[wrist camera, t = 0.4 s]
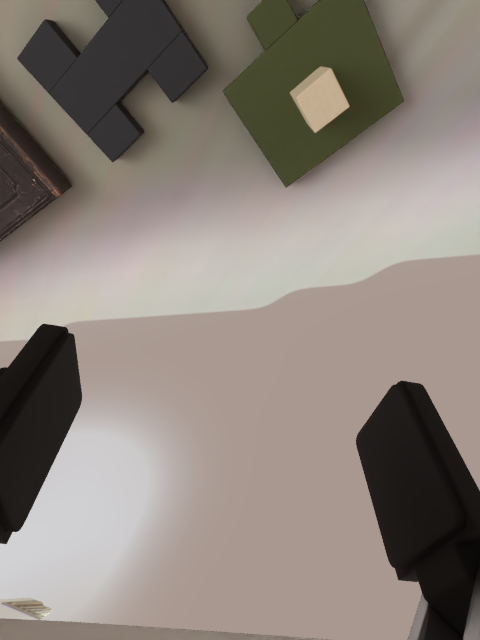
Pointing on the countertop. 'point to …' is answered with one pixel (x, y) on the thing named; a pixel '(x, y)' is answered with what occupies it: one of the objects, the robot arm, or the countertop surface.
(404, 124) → the countertop surface
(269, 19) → the olive tile
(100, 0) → the base tile
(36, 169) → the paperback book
